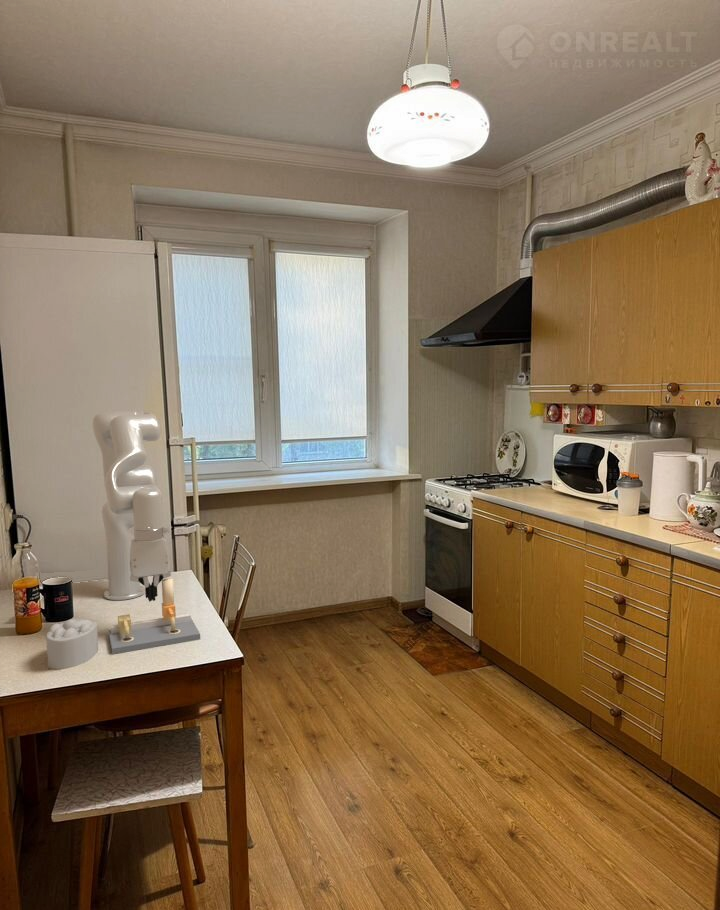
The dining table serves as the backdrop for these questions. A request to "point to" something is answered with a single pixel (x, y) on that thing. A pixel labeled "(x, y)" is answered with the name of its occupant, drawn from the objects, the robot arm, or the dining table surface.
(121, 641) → the plate
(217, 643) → the dining table surface
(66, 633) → the lumpy-topped squat cylinder
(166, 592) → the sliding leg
